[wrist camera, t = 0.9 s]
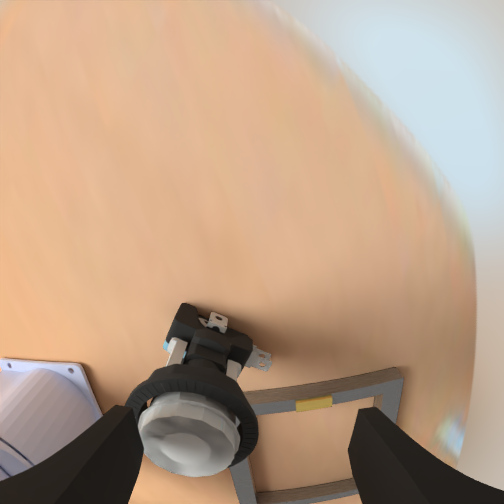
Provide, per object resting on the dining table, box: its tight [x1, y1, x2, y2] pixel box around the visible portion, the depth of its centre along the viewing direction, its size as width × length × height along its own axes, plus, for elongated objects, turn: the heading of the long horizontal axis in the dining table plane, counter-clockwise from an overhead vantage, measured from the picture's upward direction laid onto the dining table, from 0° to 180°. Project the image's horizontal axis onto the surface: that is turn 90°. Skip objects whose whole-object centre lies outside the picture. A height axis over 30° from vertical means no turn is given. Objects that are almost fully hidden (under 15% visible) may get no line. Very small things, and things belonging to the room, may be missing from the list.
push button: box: [125, 303, 272, 477], centre depth 15 cm, size 7×5×10 cm
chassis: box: [229, 367, 404, 504], centre depth 21 cm, size 13×14×2 cm
